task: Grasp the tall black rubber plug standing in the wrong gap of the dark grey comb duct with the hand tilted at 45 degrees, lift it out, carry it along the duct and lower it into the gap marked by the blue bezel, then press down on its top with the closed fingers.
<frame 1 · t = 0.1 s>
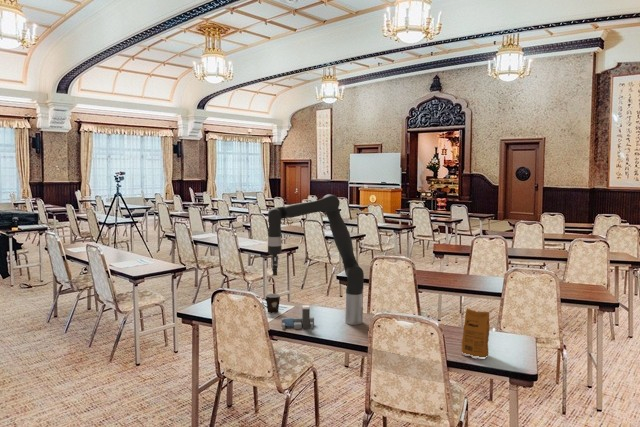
hand: (274, 273, 267), 29 cm above the table, tool pointing down, fingers open, 8 cm apart
duct: (297, 325, 270), on the table
coffee mug: (270, 311, 296), on the table
plug: (305, 327, 267), on the table
coffee package: (474, 355, 230), on the table
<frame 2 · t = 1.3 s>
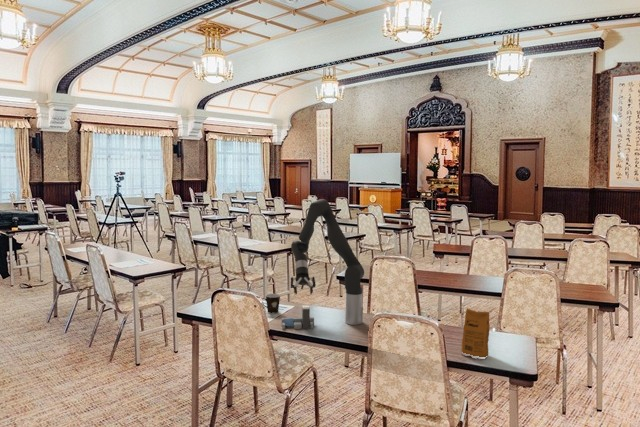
hand: (303, 293, 276), 16 cm above the table, tool tilted 45°, fingers open, 8 cm apart
nothing on the table moved.
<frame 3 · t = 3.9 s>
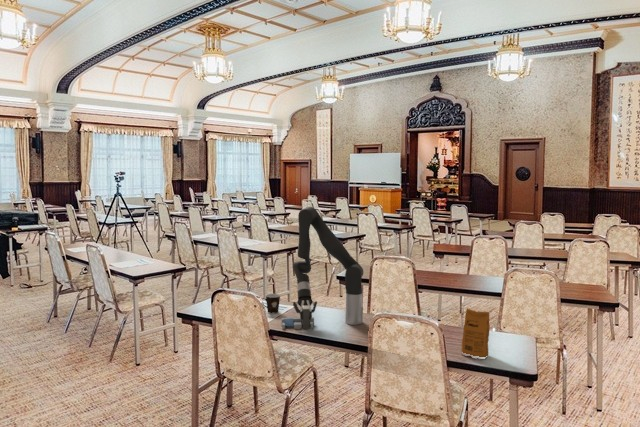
hand: (306, 318, 264), 6 cm above the table, tool tilted 45°, fingers closed on plug, 3 cm apart
plug: (305, 327, 267), on the table, touching gripper
everything else where it was.
when the fingers open (6 cm above the table, at t = 8.7 s): plug stays where it is, on the table.
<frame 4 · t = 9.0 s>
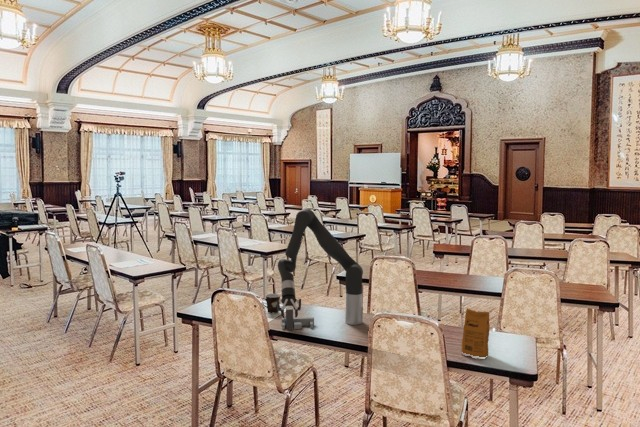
hand: (289, 316, 263), 7 cm above the table, tool tilted 45°, fingers open, 6 cm apart
plug: (289, 328, 265), on the table
everything else where it was.
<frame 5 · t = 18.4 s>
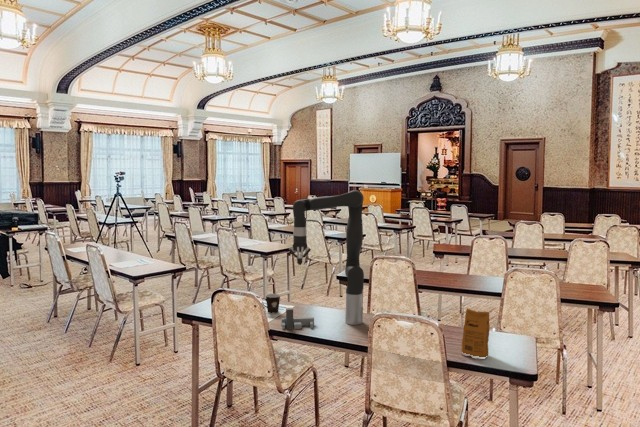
hand: (299, 264, 279), 32 cm above the table, tool pointing down, fingers closed
nothing on the table moved.
at the end: plug 0.1 cm from the target spot, on the table; plug tilted 0°; the gripper is holding nothing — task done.
